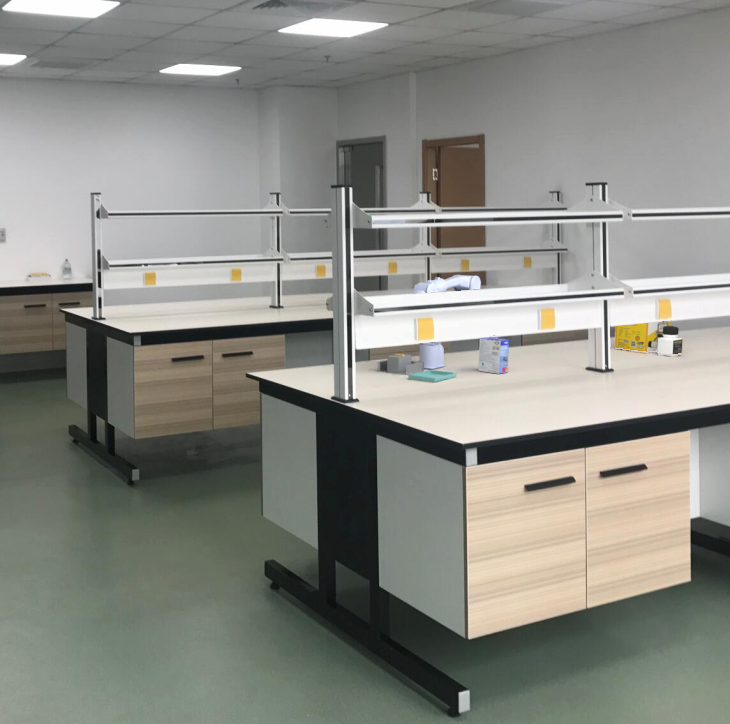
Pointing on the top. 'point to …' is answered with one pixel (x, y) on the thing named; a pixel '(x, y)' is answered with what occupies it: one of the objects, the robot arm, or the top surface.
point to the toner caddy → (398, 363)
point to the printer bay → (410, 369)
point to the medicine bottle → (670, 341)
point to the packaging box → (640, 336)
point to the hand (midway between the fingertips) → (394, 335)
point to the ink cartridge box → (493, 355)
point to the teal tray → (432, 376)
